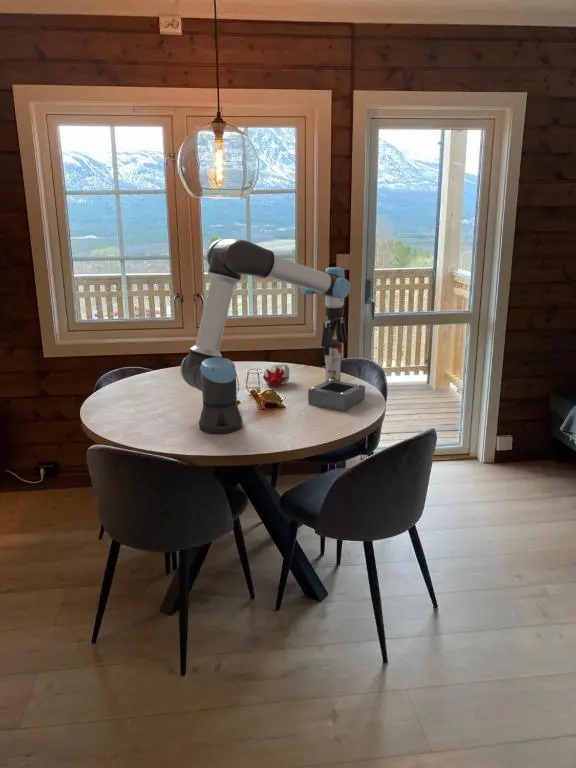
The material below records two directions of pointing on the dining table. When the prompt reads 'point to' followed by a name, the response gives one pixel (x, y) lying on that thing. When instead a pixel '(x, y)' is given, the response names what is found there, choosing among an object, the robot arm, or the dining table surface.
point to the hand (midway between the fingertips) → (334, 360)
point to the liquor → (334, 360)
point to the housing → (336, 395)
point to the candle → (276, 375)
